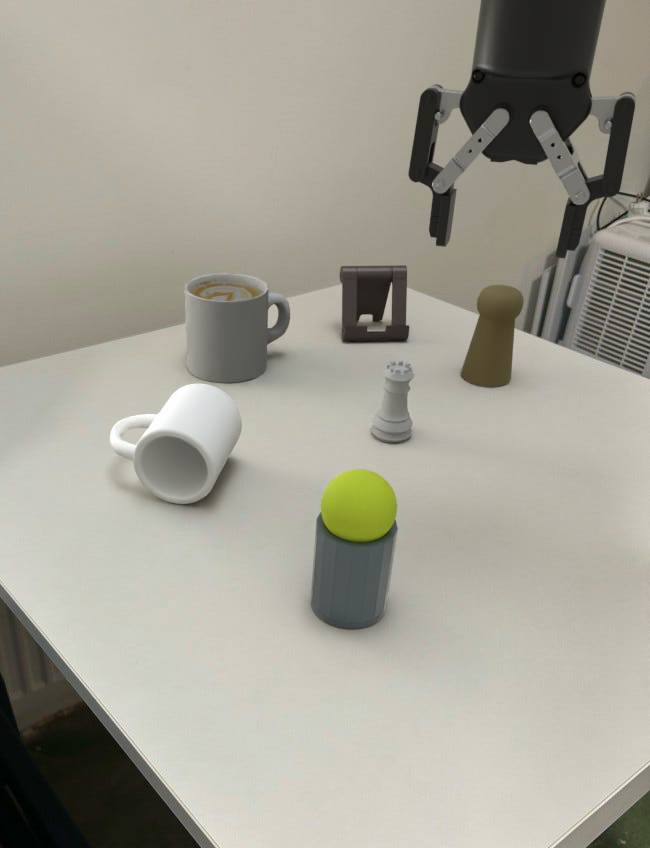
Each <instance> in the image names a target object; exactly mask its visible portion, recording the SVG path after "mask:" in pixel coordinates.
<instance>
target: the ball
mask: <svg viewBox="0 0 650 848" xmlns="http://www.w3.org/2000/svg"><path fill="white" fill-rule="evenodd" d="M320 512H321V514H322V519H323V521H324V523H325V525H326V527H327V529H328V530H329V531H330V532H331V533H332V534H333V535H335V536H336V537H338V538H340V539H343V540H347V541H351V542H371V541H375V540H378V539H380V538H382V537H383V536H384V535H385V534H386V533H387V532H388V531H389V530H390V528H391V527H392V525H393V523H394V521H395V520H396V518H397V513H398V500H397V496H396V493H395V491H394V489H393V487H392V486H391V484H390V483H389V482H388V480H387V479H386V478H384V476H382V475H381V474H378V473H377V472H375V471H372V470H369V469H364V468H363V469H362V468H355V469H350V470H346V471H344V472H341V473H339V474H338V475H337V476H334V478H333V479H332V480H331V481H330V482H329V483H328V484H327V486H326V487H325V489H324V491H323V494H322V497H321V501H320Z"/></svg>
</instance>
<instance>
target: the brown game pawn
mask: <svg viewBox="0 0 650 848" xmlns="http://www.w3.org/2000/svg"><path fill="white" fill-rule="evenodd" d="M523 307H524V295H523V294H522V292H521V290H519V289H517V288H516V287H514V286H510V285H505V284H494V285H493V284H491V285H488V286H486V287H484V288H483V289H482V290H481V291H480V293H479V294H478V297H477V301H476V310H477V311H478V314H479V315H478V318H477V322H476V325H475V328H474V330H473V334H472V338H471V340H470V343H469V346H468V349H467V352H466V355H465V359H464V362H463V364H462V368H461V371H460V376H461V378H462V379H463V380H464V381H466V382H467V383H469V384H471V385H475V386H479V387H485V388H498V387H499V388H500V387H503V386H507V385H508V384H509V383H510V382H511V381H512V368H513V355H514V340H515V328H516V319H517V318H518V317H519V316H520V314H521V313H522V310H523Z"/></svg>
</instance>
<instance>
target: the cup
mask: <svg viewBox="0 0 650 848" xmlns="http://www.w3.org/2000/svg"><path fill="white" fill-rule="evenodd" d="M315 520H316V522H315V533H314V534H315V535H314V546H313V547H314V548H313V549H314V550H313V562H312V574H311V576H312V577H311V589H310V606H311V608H312V611H313V612H314V614H315V615H316V616H317V617H318V618H319V619H320V620H321V621H322V622H324V623H326V624H328V625H331V626H333V627H336V628H340V629H346V630H357V629H358V630H359V629H364V628H368V627H371V626H373V625H375V624H376V623H377V622H380V620H382V618H383V616H384V615H385V613H386V609H387V605H388V601H389V600H388V599H389V593H390V586H391V585H390V584H391V578H392V571H393V565H394V558H395V550H396V546H397V545H396V543H397V538H398V531H399V528H398V527H399V526H398V523H397V520H396V519H395V521H394V523H393V525H392V527H391V528H390V530H389V531H388V532H387V533H386V534H385V535H384V536H383V537H382V538H380V539H378V540H375V541H371V542H351V541H347V540H343V539H340V538H338V537H336V536H335V535H333V534H332V533H331V532H330V531H329V530H328V529H327V527H326V525H325V523H324V521H323V519H322V514H321V511H320V512H319V514H318V516H317V517H316V519H315Z"/></svg>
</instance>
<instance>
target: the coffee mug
mask: <svg viewBox="0 0 650 848" xmlns="http://www.w3.org/2000/svg"><path fill="white" fill-rule="evenodd" d="M273 305H275V306H276V308H277V320H276V322H275V324H274V325H273V326H272V327H269V325H268V324H269V323H268V322H269V309H270V308H271V306H273ZM184 312H185V315H184V316H185V341H186V342H185V343H186V344H185V345H186V347H185V348H186V368H187V370H188V371H189V373H190V374H192V375H193V376H195V377H196V378H198V379H201V380H204V381H207V382H212V383H221V384H232V383H241V382H247V381H250V380H253V379H255V378H258V377H260V376H261V375H262V374H264V373H265V371H266V370H267V360H268V354H267V353H268V345H270V344H271V343H273V342H275V341H277V340H278V339H280V338H281V337H283V335H285V333H286V332H287V330H288V328H289V325H290V322H291V307H290V302H289V300H288V299H287V298H286V297H285V296H284V295H282V294H281V293H279V292H269V285H268V283H267V282H266V281H264V280H263V279H261V278H258V277H256V276H253V275H249V274H244V273H235V272H234V273H233V272H219V273H218V272H217V273H209V274H203V275H199V276H196V277H194V278H191V279H190V280H189V281H187V282H186V283H185V285H184Z"/></svg>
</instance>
